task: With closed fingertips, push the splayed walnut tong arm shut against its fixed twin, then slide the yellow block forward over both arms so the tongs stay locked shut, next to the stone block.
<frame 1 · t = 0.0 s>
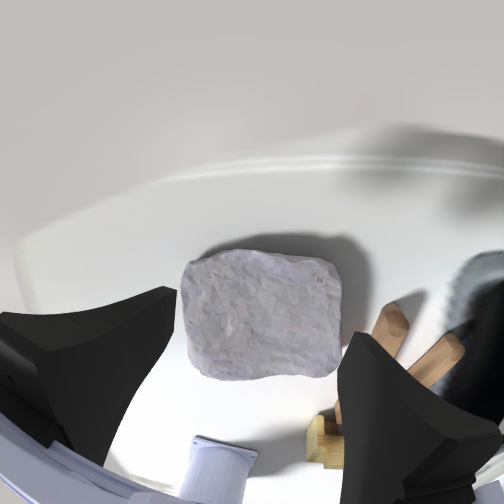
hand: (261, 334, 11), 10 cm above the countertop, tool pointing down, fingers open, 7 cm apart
stone block: (264, 301, 22), on the countertop
tong arm: (411, 385, 21), point 1 cm above the countertop, hinge at 25.0°
tongs fixed: (345, 415, 24), on the countertop
yellow block: (344, 448, 22), point 3 cm above the countertop, slide at 0.0 cm
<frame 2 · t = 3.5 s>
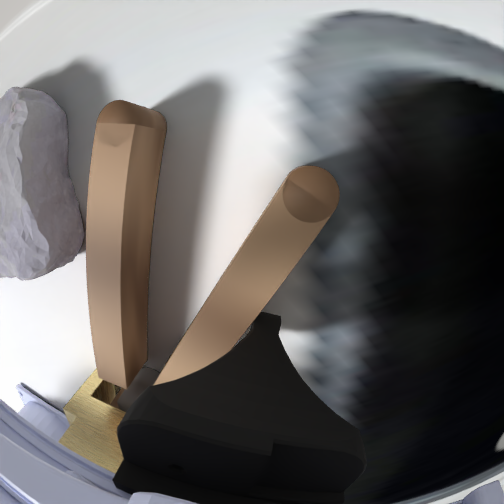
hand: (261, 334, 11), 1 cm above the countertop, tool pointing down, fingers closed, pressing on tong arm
stone block: (17, 181, 12), on the countertop
tong arm: (226, 309, 10), point 1 cm above the countertop, hinge at 21.0°, touching gripper
tongs fixed: (151, 379, 14), on the countertop
yellow block: (132, 438, 11), point 3 cm above the countertop, slide at 0.0 cm
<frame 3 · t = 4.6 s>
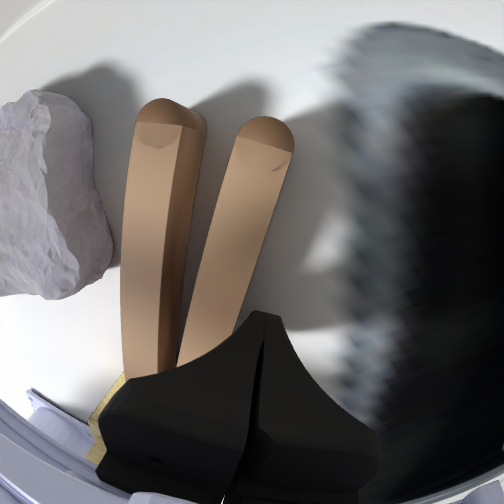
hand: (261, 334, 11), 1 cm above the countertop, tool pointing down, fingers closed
stone block: (33, 190, 12), on the countertop
tong arm: (223, 289, 10), point 1 cm above the countertop, hinge at 5.7°, touching gripper
tongs fixed: (177, 387, 14), on the countertop
yellow block: (160, 448, 11), point 3 cm above the countertop, slide at 0.0 cm
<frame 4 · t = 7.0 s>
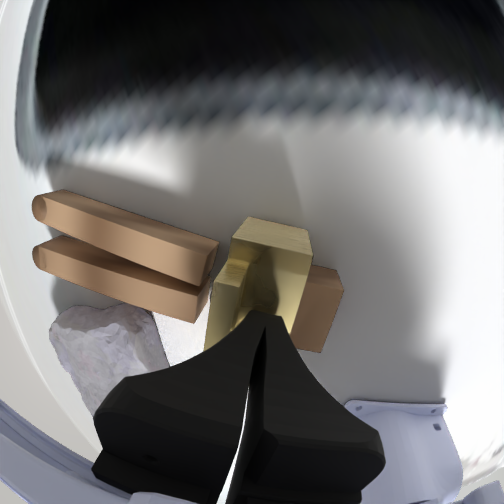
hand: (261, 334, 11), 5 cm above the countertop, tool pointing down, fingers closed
stone block: (123, 364, 20), on the countertop
tong arm: (111, 227, 14), point 1 cm above the countertop, hinge at 5.7°
tongs fixed: (238, 280, 16), on the countertop
yellow block: (256, 313, 12), point 3 cm above the countertop, slide at 0.1 cm, touching gripper
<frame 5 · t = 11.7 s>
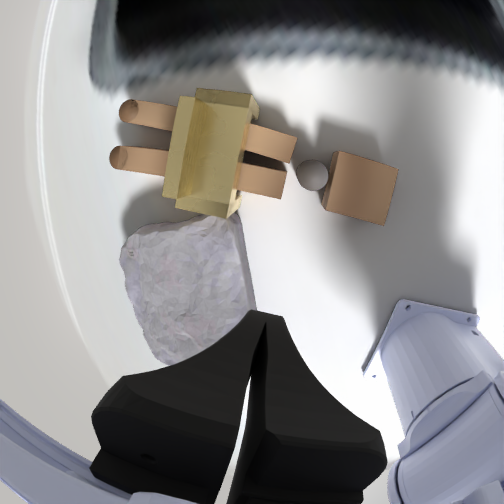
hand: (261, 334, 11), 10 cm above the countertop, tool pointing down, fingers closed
stone block: (194, 286, 22), on the countertop
tong arm: (203, 125, 17), point 1 cm above the countertop, hinge at 5.7°
tongs fixed: (310, 173, 18), on the countertop
yellow block: (215, 151, 15), point 3 cm above the countertop, slide at 7.1 cm
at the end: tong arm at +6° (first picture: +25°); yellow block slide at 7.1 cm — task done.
